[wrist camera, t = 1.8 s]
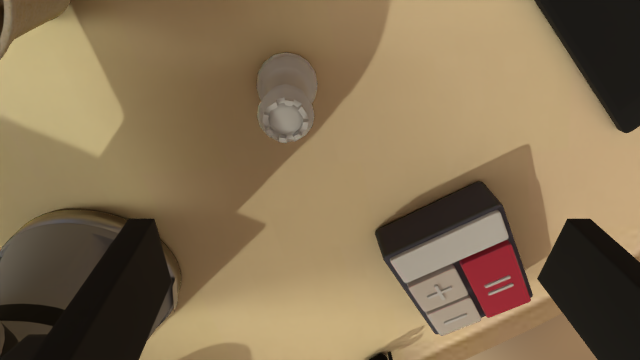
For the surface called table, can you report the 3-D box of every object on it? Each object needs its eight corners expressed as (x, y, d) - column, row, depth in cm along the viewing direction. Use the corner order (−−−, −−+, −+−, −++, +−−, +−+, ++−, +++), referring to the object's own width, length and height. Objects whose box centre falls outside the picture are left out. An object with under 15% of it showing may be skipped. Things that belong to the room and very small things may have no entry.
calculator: (438, 342, 38) (383, 264, 30) (425, 308, 42) (372, 230, 34) (538, 303, 36) (507, 208, 28) (515, 271, 39) (481, 178, 31)
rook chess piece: (249, 98, 26) (234, 143, 20) (268, 40, 24) (259, 68, 18) (303, 119, 28) (308, 168, 21) (326, 65, 25) (339, 100, 19)
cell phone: (617, 131, 30) (626, 136, 29) (509, -35, 23) (517, -36, 22) (728, 51, 27) (742, 54, 26) (642, -169, 20) (657, -176, 19)
